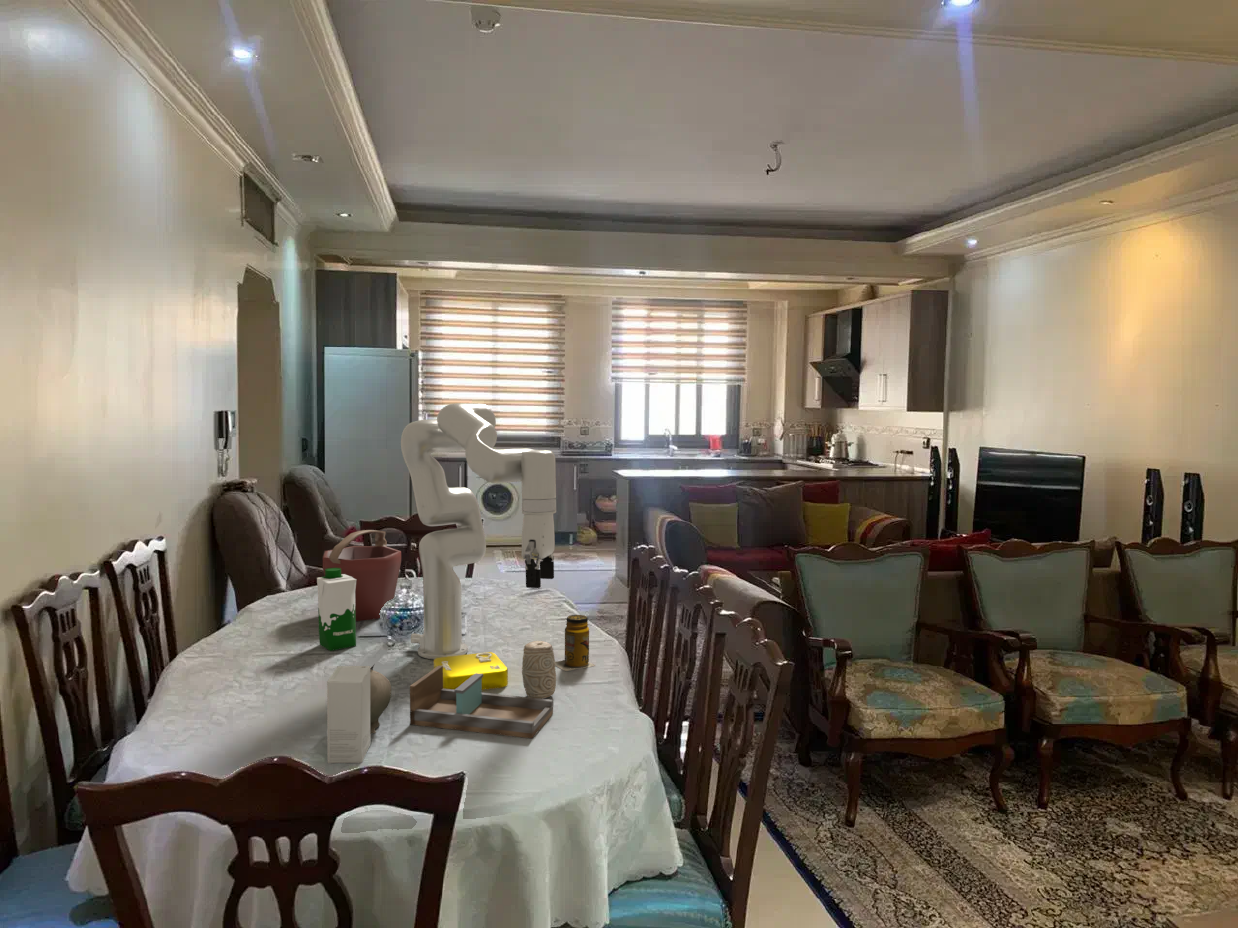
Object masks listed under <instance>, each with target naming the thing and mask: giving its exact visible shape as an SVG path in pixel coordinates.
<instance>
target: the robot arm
mask: <svg viewBox="0 0 1238 928" xmlns="http://www.w3.org/2000/svg"><path fill="white" fill-rule="evenodd" d="M436 417H437V418H434V419H433V418H431V419H419V420H416V421H412V422H409V423H408V424H407V425H405V427H404V429H403V431H402V432H401V437H400V447H401V449H400V450H401V453H402V457H403V459H404V462H405V465H406V466H407V469H408V472H409V475H410V477H411V478H410V479H411V484H412V489H413V490H412V491H413V494H414V500H415V504H416V510H417V515H418V518H419V520H420V522H421V523H422V524H423V525H425V526H427V527H439V526H448V525H449V526H450V525H456V528H451V529H442V530H435V531H432V532H429V533H427V534H425V535H424V536H423V537H422V538H421V540H420V541H419V546H418V555H419V559H420V564H421V569H422V570H421V571H422V572H421V573H422V585H423V587H422V589H423V590H422V591H423V593H422V594H423V633H422V634H421V633H420V634H419V633H411V634H410V643H411V644H418V645H419V647H418V649H417V655H418V656H419V657H422V658H423V659H427V660H428V659H429V660H434V659H436V658H439V657H448V656H457V655H466V654H468V652H469V647H468V645H467V644H466V643H464V642H463V641H462V640H463V637H462V635H463V632H462V630H463V629H462V628H463V627H462V626H463V625H462V622H463V621H462V618H463V617H462V613H463V612H462V611H463V610H462V607H463V606H462V583H461V580H460V578H459V576H458V574H457V573H456V572H455V569H454V567H455V568H456V567H458V566H464V565H470V564H474V563H475V564H476V563H478V562H480V561H482V560H483V558H484V557H485V555H486V552H487V551H486V550H487V541H486V534H485V531H484V524H483V520H482V516H481V510H480V504H479V501H478V499H477V497H476V495H475V494H474V492H473V491H472V490H471V489H469V488H467V487H464V486H456V487H455V486H454V487H449V486H448V484H447V478H446V473H445V470H444V468H443V467H442V465H441V464H440V462H439V461H438V460H437V459H436V458H435V457H434V456H433V455H432V454H433V453H449V452H451V453H453V452H455V453H456V452H462V451H465V452H464V454H465V460H466V462H467V465H468V467H469V469H470V470H471V471H472V472H473V473H474V474H476V475H477V476H478V477H479V478H481V479H483V480H484V481H486V482H488V483H491V484H506V483H520V482H521V514H523V519H522V530H521V532H522V533H521V557H522V559H523V560H524V563H525V567H524V569H525V588H528V589H540V588H541V587H542V585H541V584H542V583H541V582H542V581H541V579H543V580H553V579H554V578H555V562H554V560H555V555H554V552H555V543H556V542H555V541H556V540H555V538H556V537H555V522H554V514H556V513H557V486H556V484H557V480H556V478H557V476H556V468H557V467H556V456H555V453H554V451H553V452H552V451H551V450H544V449H543V450H540V449H539V450H537V449H532V448H527V447H525V448H503V449H494V447H495V445H496V443H497V441H498V439H497V438H498V434H497V430H496V421H497V420H496V415H495V413H494V411H493V410H492V408H490V407H489V406H488V405H487V404H485V403H478V402H477V403H475V402H474V403H472V402H471V403H470V402H469V403H468V402H467V403H463V402H462V403H458V402H457V403H449V404H447V405H445V406H444V407H442V408H441V409H440V411H439V412H438V413H437V416H436Z"/></svg>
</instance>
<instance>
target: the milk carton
mask: <svg viewBox="0 0 1238 928" xmlns="http://www.w3.org/2000/svg"><path fill="white" fill-rule="evenodd" d="M356 580H357V579H354V578H353V577H351V576H348V575H345V574H342V575H341V568H328V569H325V576H321V577H316V583H317V584H316V585H317V601H318V602H317V606H318V607H317V608H318V615H317V616H318V638H319V641H318V642H319V645H320V646H321V647H323V648H325V649H326V650H328V651H330V652H332V651H333V652H334V651H337V650H343V649H347V648H348V649H349V648H353V647H357V632H356V631H357V627H356V623H357V621H356V615H355V589H356Z"/></svg>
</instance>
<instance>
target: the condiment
mask: <svg viewBox="0 0 1238 928" xmlns="http://www.w3.org/2000/svg"><path fill="white" fill-rule="evenodd" d="M588 621H589V619H588V616H586V615H583V614H571V615H568V616H567V617H566V624H565V625H566V626H565V628H564V659H562V660H559V661H558V660H557V661H555V667H557V668H559V669H561V670H562V671H564V672H569V671H574V670H575V671H576V670H581V669H585V668H590V667H591V668H592V667H595V666H596V664H594V663H592V662H590V627H589V623H588Z"/></svg>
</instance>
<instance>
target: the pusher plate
mask: <svg viewBox="0 0 1238 928" xmlns="http://www.w3.org/2000/svg"><path fill="white" fill-rule="evenodd" d="M482 677H483V674H479V673H475V674H474V675H472V676H471V677H470V678H469V679H467V680H466V681H465V682H464V683H462V684H461V685H460V686H459V687H458V688H456V689H455V690H454V693H456V713H460V714H470V713H471V712H472V711H473V710H474V709H476V708H477V707H478V706H479V705H480V704H481V703H482V693H483V692H482V691H483V690H482Z"/></svg>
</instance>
